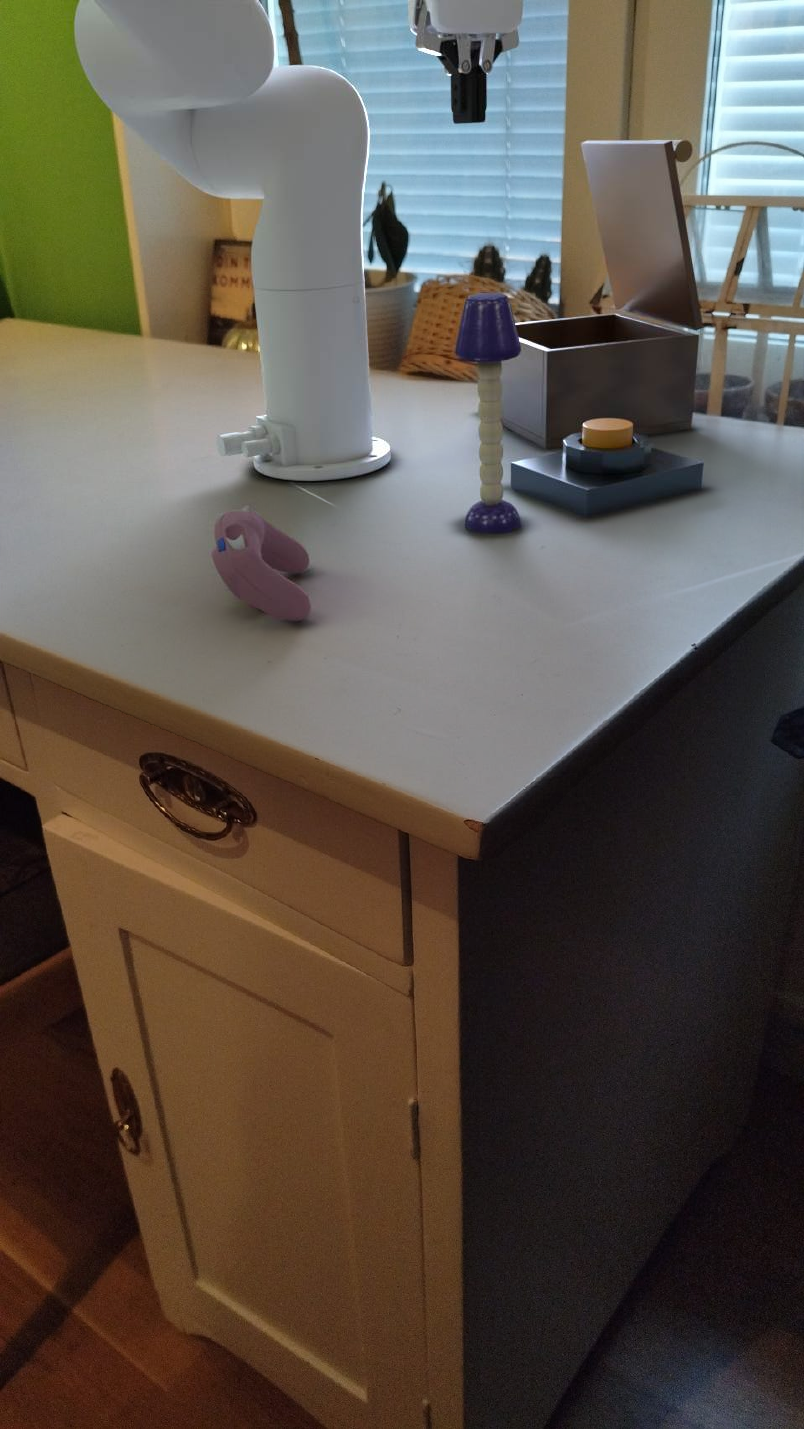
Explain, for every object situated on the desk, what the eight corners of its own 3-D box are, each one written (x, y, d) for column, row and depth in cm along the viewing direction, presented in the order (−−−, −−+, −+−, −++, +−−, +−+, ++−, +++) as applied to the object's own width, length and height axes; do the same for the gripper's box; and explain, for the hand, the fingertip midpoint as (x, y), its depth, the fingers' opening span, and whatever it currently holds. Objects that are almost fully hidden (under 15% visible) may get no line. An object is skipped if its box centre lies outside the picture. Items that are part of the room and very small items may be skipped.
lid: (664, 143, 94) (718, 120, 94) (580, 143, 107) (628, 123, 107) (696, 331, 102) (746, 308, 103) (615, 309, 116) (659, 290, 116)
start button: (603, 455, 87) (604, 432, 86) (571, 444, 90) (572, 423, 89) (642, 446, 89) (643, 424, 88) (609, 436, 92) (610, 415, 91)
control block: (586, 518, 85) (588, 467, 83) (510, 488, 92) (510, 440, 90) (701, 489, 90) (706, 440, 88) (620, 463, 98) (623, 417, 96)
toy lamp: (516, 537, 81) (517, 299, 74) (454, 536, 82) (449, 300, 74) (523, 517, 86) (525, 289, 78) (463, 515, 87) (460, 290, 79)
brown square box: (545, 448, 103) (547, 351, 99) (481, 414, 116) (480, 326, 112) (691, 429, 107) (699, 334, 103) (614, 397, 120) (618, 312, 116)
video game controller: (259, 592, 78) (204, 510, 75) (315, 561, 77) (261, 476, 74) (255, 650, 69) (191, 560, 66) (317, 615, 69) (256, 523, 65)
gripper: (511, -105, 102) (510, 121, 110) (370, -113, 95) (381, 127, 104) (561, -120, 96) (556, 119, 105) (415, -130, 90) (422, 125, 98)
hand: (469, 122), depth 104 cm, fingers closed
